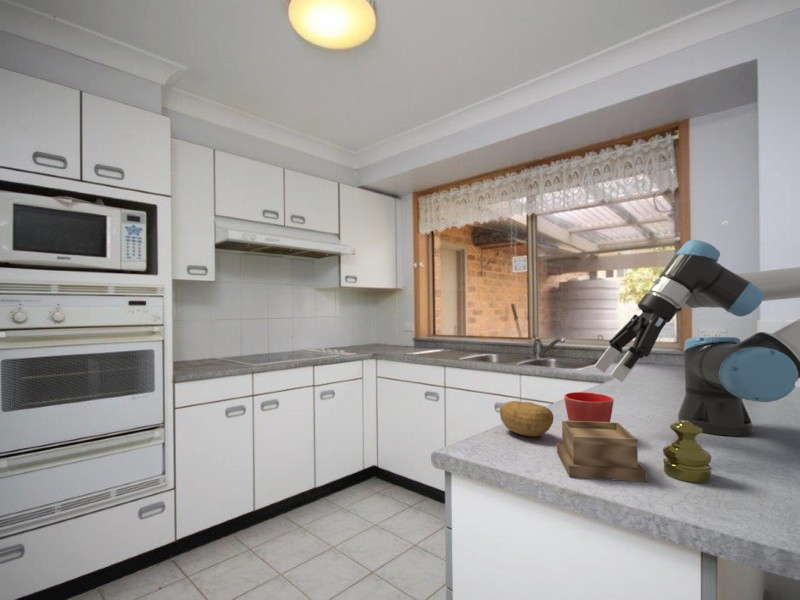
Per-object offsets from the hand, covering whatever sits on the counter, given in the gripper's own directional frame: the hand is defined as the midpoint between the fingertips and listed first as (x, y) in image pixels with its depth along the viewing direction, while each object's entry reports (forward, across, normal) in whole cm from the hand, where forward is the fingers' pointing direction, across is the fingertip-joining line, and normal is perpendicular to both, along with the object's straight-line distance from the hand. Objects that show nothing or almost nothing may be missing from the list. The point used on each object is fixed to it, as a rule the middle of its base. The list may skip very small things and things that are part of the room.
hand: (607, 373), depth 98 cm
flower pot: (+15, -1, +6) cm, 16 cm away
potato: (+24, 0, -6) cm, 25 cm away
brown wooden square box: (+17, +18, +3) cm, 25 cm away
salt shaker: (+8, +20, +16) cm, 27 cm away
